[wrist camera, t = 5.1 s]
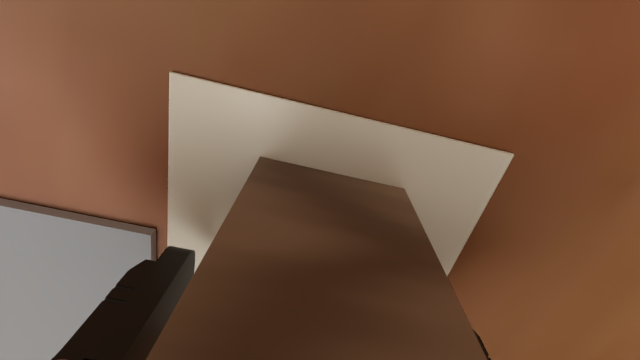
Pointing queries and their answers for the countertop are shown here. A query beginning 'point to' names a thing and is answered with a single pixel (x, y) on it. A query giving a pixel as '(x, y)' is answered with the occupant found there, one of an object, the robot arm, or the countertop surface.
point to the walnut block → (318, 278)
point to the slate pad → (58, 273)
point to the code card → (313, 161)
